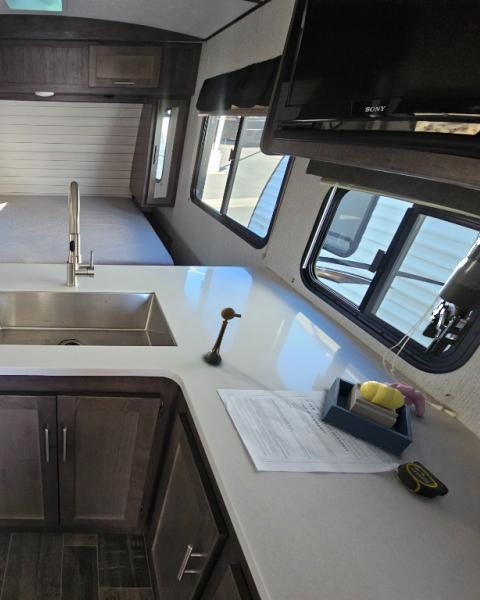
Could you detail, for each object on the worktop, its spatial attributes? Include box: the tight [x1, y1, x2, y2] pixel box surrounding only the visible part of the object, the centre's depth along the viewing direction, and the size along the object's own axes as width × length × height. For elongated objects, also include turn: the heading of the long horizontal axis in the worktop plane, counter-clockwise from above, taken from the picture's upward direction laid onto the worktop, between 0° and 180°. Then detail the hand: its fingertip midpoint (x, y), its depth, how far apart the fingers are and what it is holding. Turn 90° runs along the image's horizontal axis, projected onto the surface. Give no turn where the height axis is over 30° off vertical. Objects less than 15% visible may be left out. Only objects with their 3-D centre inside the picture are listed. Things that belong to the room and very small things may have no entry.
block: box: [344, 381, 398, 429], centre depth 83 cm, size 8×10×9 cm
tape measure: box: [396, 460, 449, 499], centre depth 69 cm, size 7×7×4 cm
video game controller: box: [382, 381, 426, 417], centre depth 89 cm, size 10×5×7 cm, turn 65°
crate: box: [322, 376, 414, 457], centre depth 83 cm, size 16×14×6 cm
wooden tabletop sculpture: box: [204, 306, 242, 366], centre depth 98 cm, size 6×5×20 cm
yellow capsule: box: [360, 380, 405, 409], centre depth 79 cm, size 8×5×5 cm, turn 51°
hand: (429, 345), depth 73 cm, fingers open, 8 cm apart
